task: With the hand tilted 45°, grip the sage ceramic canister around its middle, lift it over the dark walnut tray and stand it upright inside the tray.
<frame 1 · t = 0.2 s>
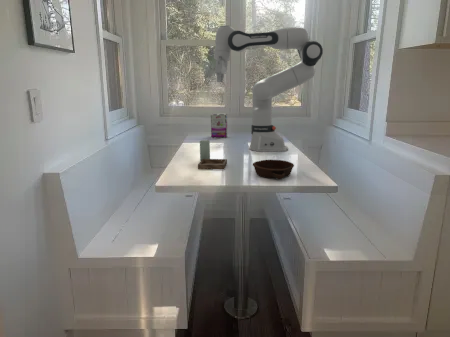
hand: (219, 82, 202), 39 cm above the table, tool pointing down, fingers open, 8 cm apart
sage ceramic canister: (205, 160, 182), on the table
dish: (272, 175, 153), on the table
walnut tray: (212, 166, 169), on the table
candy bar box: (219, 137, 256), on the table
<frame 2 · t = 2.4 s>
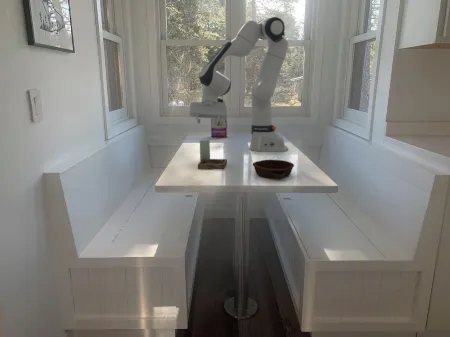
hand: (207, 123, 189), 17 cm above the table, tool tilted 45°, fingers open, 8 cm apart
nothing on the table moved.
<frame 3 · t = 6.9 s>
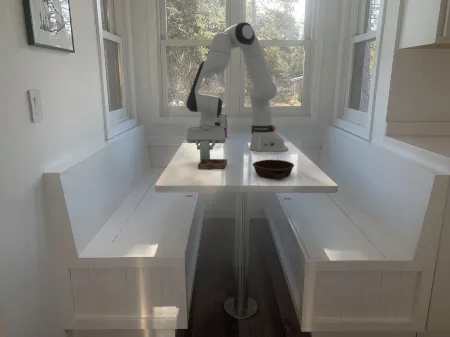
hand: (204, 149, 180), 6 cm above the table, tool tilted 45°, fingers closed on sage ceramic canister, 5 cm apart
sage ceramic canister: (205, 160, 182), on the table, touching gripper
everything else where it was.
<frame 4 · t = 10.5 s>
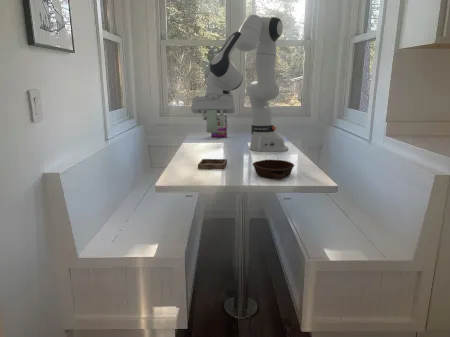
hand: (211, 119, 163), 22 cm above the table, tool tilted 45°, fingers closed on sage ceramic canister, 5 cm apart
sage ceramic canister: (212, 131, 165), point 16 cm above the table, touching gripper
everything else where it was.
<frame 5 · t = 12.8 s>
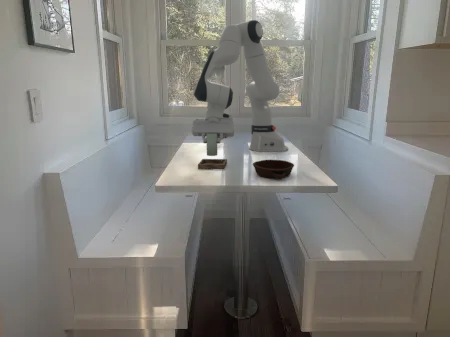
hand: (211, 142, 165), 11 cm above the table, tool tilted 45°, fingers closed on sage ceramic canister, 5 cm apart
sage ceramic canister: (212, 154, 167), point 6 cm above the table, touching gripper
everything else where it was.
when the fingers open (8 cm above the table, at t = 14.6 s): sage ceramic canister drops 1 cm, resting on walnut tray.
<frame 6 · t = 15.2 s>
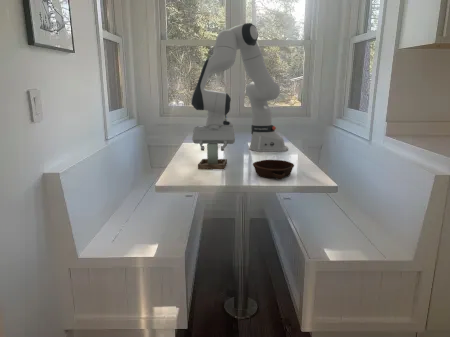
hand: (212, 150, 166), 8 cm above the table, tool tilted 45°, fingers open, 8 cm apart
sage ceramic canister: (212, 165, 168), point 1 cm above the table, touching walnut tray
everything else where it was.
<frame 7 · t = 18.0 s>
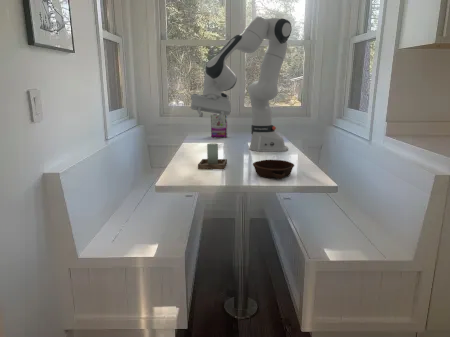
hand: (210, 117, 175), 22 cm above the table, tool tilted 45°, fingers open, 8 cm apart
nothing on the table moved.
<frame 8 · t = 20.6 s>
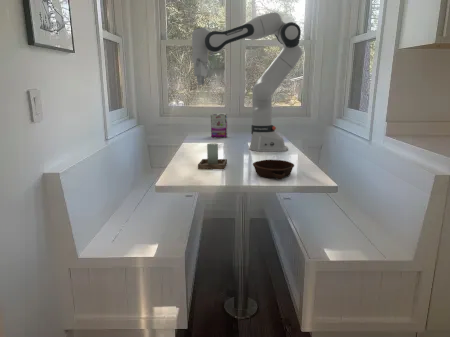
hand: (201, 84, 200), 37 cm above the table, tool pointing down, fingers open, 8 cm apart
nothing on the table moved.
at the end: sage ceramic canister inside the target area on the walnut tray (0.1 cm from its centre), point 0.6 cm above the walnut tray's base; sage ceramic canister tilted 0°; the gripper is holding nothing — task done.
